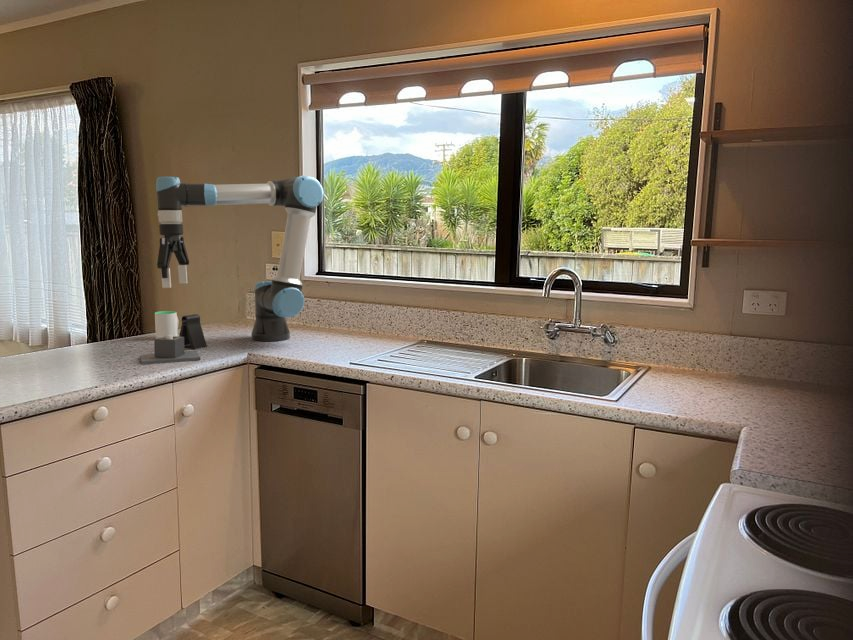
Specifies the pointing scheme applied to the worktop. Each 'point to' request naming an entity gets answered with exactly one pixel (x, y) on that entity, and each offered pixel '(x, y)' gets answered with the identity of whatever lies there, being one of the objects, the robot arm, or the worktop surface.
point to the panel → (185, 357)
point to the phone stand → (192, 332)
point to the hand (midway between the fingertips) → (175, 285)
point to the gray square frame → (169, 347)
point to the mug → (166, 323)
